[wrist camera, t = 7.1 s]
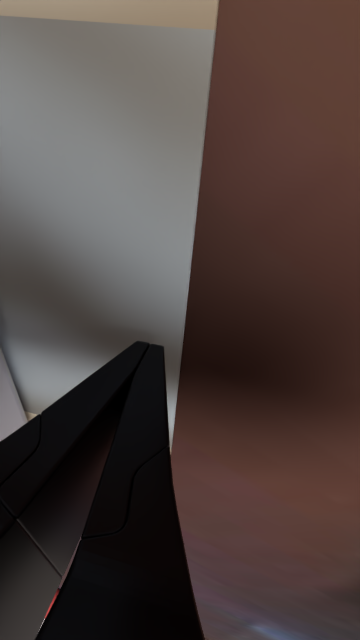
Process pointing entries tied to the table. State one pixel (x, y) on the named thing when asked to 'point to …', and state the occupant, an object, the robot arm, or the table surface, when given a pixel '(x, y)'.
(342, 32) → the table surface
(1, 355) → the charger
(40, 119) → the game board
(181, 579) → the robot arm
